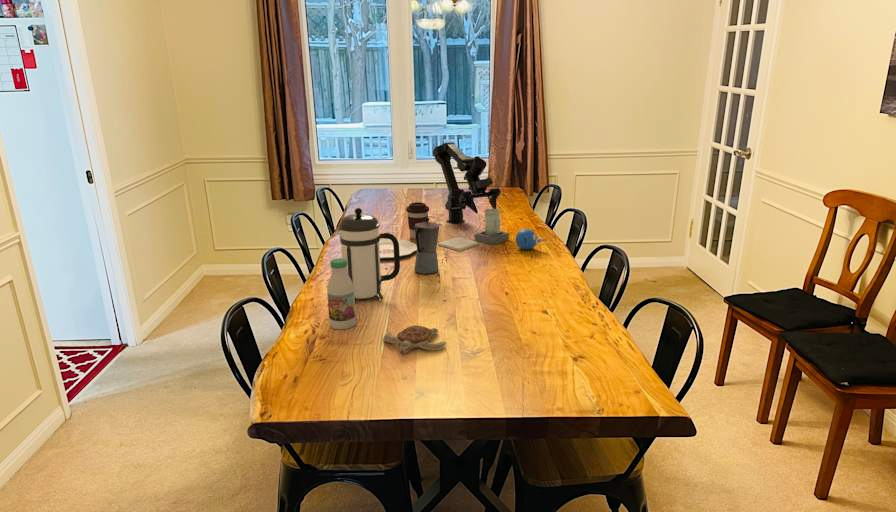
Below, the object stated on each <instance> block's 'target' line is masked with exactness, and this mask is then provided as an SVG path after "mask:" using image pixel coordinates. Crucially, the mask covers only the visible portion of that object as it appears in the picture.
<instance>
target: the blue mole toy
mask: <svg viewBox="0 0 896 512" xmlns="http://www.w3.org/2000/svg"><path fill="white" fill-rule="evenodd" d="M545 241H546V239H545V238H540V237H537V233H536V232H535V231H533V230H532V229H530V228H522V229H520V230H519V231H518V232H517V233H516V235H515V243H516V245H517V247H518V248H519V249H521V250H527V251H528V250H531V249H532V248H535V246H537V245H538V244H540V243H543V242H545Z"/></svg>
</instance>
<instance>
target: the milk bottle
mask: <svg viewBox="0 0 896 512" xmlns="http://www.w3.org/2000/svg"><path fill="white" fill-rule="evenodd" d="M329 266H330V269H331V274H330V277H329V279H328V282H327V289H326V290H327V292H326V293H327V296H326V297H327V307H328V309H327V310H328V318H329V319H328V320H329V322H328V323H329V326H330V327H331V328H332V329H335V330H348V329H351V328H353V327H355V325H356V324H357V311H356V300H355V296H354V287H353V283H352V281H351V279H350V277H349V275H348V273H347V270H346V268H347V261H346V259H342V257H339V258H338V257H337V258H334V259H331V260H330V265H329Z"/></svg>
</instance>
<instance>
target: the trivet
mask: <svg viewBox="0 0 896 512" xmlns="http://www.w3.org/2000/svg"><path fill="white" fill-rule="evenodd" d="M479 242H480V241H476V240H471V239H469V238H468V239H467V238H463V237H459V236H455V237H453V238H450V239H447V240H443V241H441V242H437V246H440V247H443V248H446V249H451V250H455V251H458V252H461V251H464V250H467V249H469V248H473V247H475V246H478V245H479Z"/></svg>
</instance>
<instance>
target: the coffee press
mask: <svg viewBox="0 0 896 512" xmlns="http://www.w3.org/2000/svg"><path fill="white" fill-rule="evenodd" d="M380 224H381V223H380V221H378V219H377V217H376V216H374V215H372V214H369V213H363V209H361V208H360V207H357V208H355V209H354V214H348V215H346V216H344V217H343V218H342V219H341V220H340V221H339V224H338V227H337V229H336V230H335V233H334V236H339V243H340V246H341V248H340V249H341V258H342V259H346V261H347V268H346V270H347V273H348V275H349V277H350V279H351V281H352V283H353V287H354V296H355V301H356V300H357V299H362V300H363V299H370V298H373V297H374V298H375V299H376V300H377V301H379V302H380V301H383V300H384V296H383V294H382V293H381V291H382V283H383V282H385V281H391V280H393V279H395V278H396V277H397V276H398V275H399V272H400V269H401V268H400V267H401V260H400V258H401V257H400V253H399V243H398V240H397V239H398V238H397V237H396V236H395V235H394V234H392V233H389V232H383V233H380V232H379V231H380V230H379V227H380ZM380 239H390V240H391V241H392V242H393V247H394V250H393V252H394V259H393V264H394V265H393V266H394V267H393V270H392V272H391V273H389V274H384V275H382V274H381V273H382V272H381V259H380V253H381V252H380V251H381V250H379V241H380Z"/></svg>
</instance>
